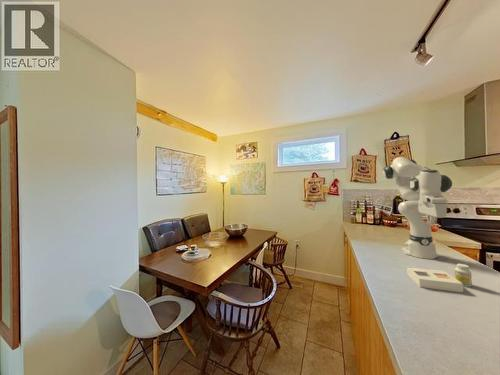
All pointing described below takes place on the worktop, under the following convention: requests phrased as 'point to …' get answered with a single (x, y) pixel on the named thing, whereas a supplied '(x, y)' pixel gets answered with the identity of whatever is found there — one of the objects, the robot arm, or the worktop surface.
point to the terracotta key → (442, 276)
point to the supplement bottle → (463, 275)
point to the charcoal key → (421, 274)
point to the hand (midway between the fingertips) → (431, 223)
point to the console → (435, 280)
